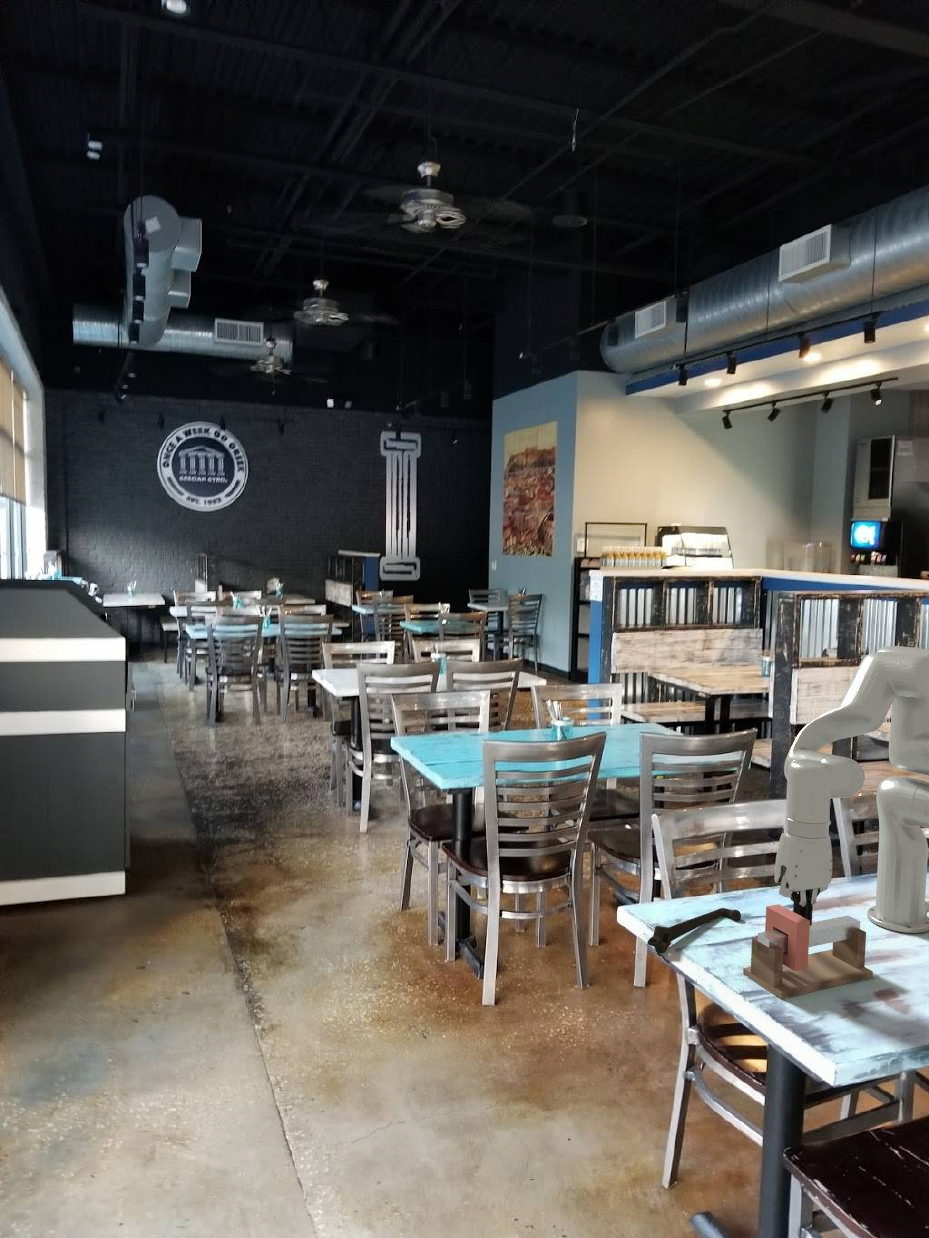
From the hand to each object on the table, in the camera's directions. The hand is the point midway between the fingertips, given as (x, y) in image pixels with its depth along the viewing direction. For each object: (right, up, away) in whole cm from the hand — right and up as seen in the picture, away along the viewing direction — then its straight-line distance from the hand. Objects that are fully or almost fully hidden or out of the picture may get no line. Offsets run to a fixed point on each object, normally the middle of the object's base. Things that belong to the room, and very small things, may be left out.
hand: (802, 923), depth 169 cm
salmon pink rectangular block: (-3, -7, -1) cm, 7 cm away
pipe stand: (+2, -11, +2) cm, 11 cm away
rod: (+2, -4, +1) cm, 5 cm away
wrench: (-15, -9, +19) cm, 26 cm away
